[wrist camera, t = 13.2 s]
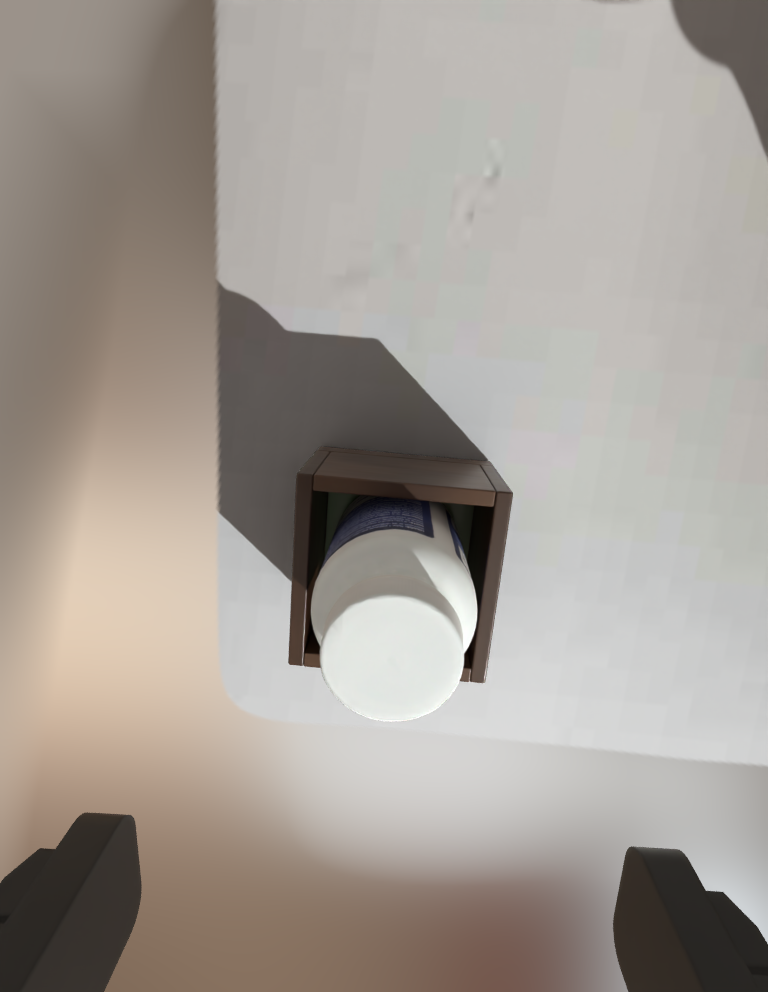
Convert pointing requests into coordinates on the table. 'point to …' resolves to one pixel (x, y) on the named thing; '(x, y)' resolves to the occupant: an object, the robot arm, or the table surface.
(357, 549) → the pill bottle
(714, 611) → the table surface
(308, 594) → the wooden box
